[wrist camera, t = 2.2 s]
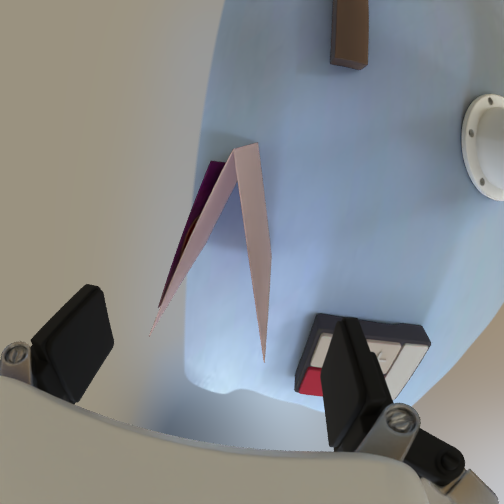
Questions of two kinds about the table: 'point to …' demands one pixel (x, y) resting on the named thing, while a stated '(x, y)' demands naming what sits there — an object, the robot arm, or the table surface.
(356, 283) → the table surface
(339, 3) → the walnut bar
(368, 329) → the calculator
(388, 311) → the table surface
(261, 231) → the greeting card
